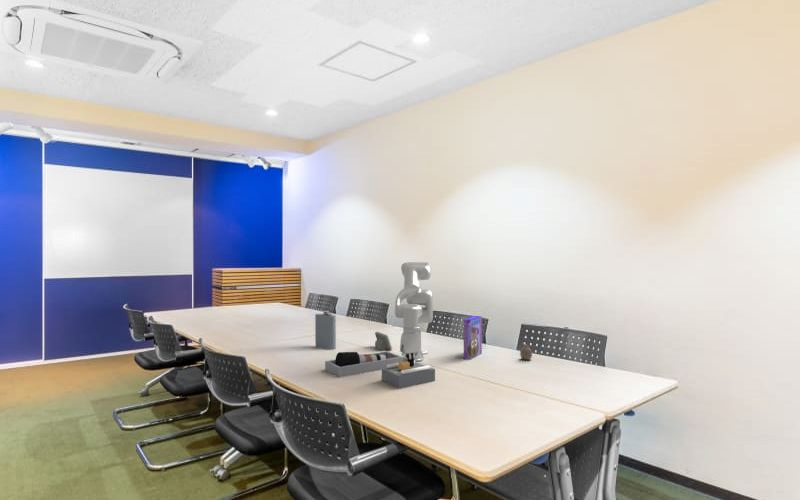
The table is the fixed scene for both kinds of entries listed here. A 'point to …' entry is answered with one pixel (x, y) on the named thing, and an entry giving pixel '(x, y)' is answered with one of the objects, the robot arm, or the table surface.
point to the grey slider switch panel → (407, 376)
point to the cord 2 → (415, 369)
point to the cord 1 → (394, 365)
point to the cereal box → (472, 337)
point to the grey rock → (382, 342)
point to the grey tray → (362, 365)
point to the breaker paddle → (404, 365)
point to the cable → (356, 358)
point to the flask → (325, 330)
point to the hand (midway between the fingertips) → (410, 366)
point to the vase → (526, 353)
